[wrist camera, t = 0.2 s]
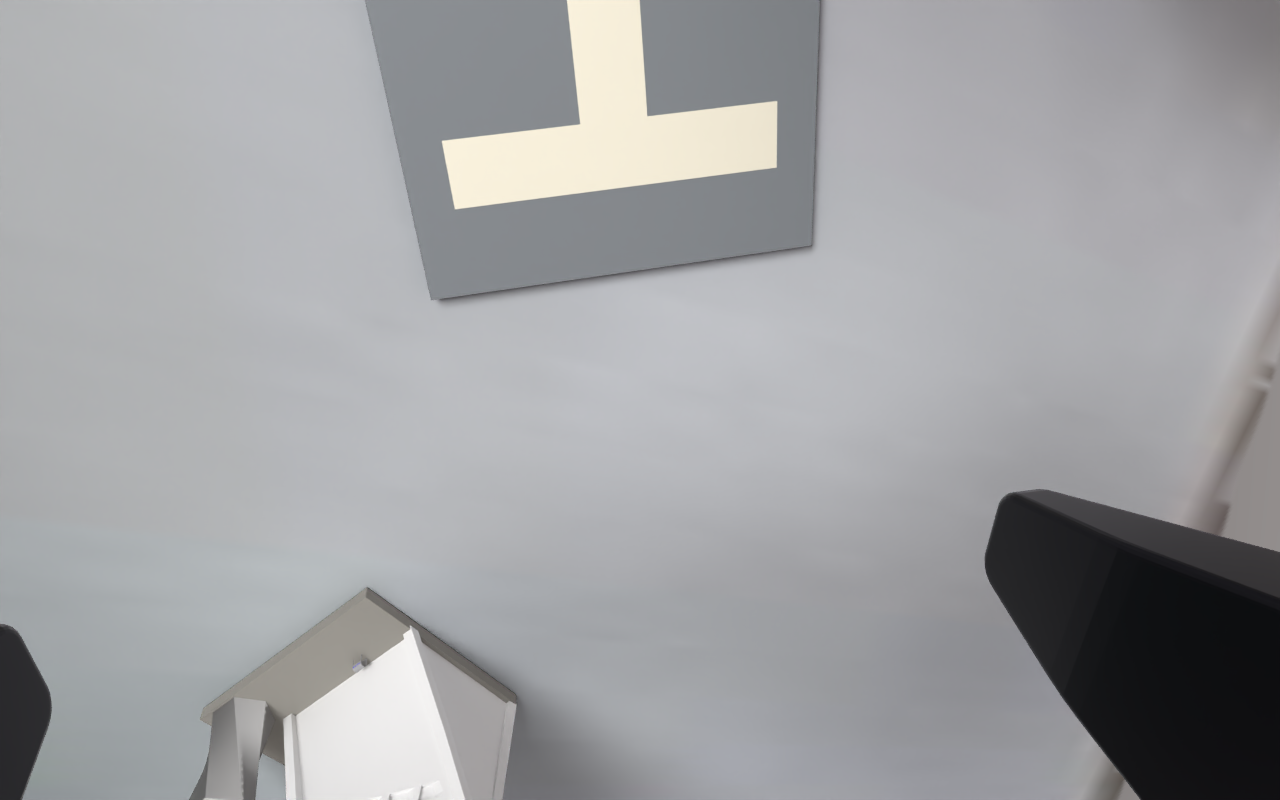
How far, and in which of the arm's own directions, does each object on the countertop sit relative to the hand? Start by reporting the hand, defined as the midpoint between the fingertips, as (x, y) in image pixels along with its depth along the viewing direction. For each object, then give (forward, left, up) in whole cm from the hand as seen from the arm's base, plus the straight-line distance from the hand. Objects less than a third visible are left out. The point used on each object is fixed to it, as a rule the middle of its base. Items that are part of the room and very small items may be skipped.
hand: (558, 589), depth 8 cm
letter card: (-3, +3, -14) cm, 15 cm away
